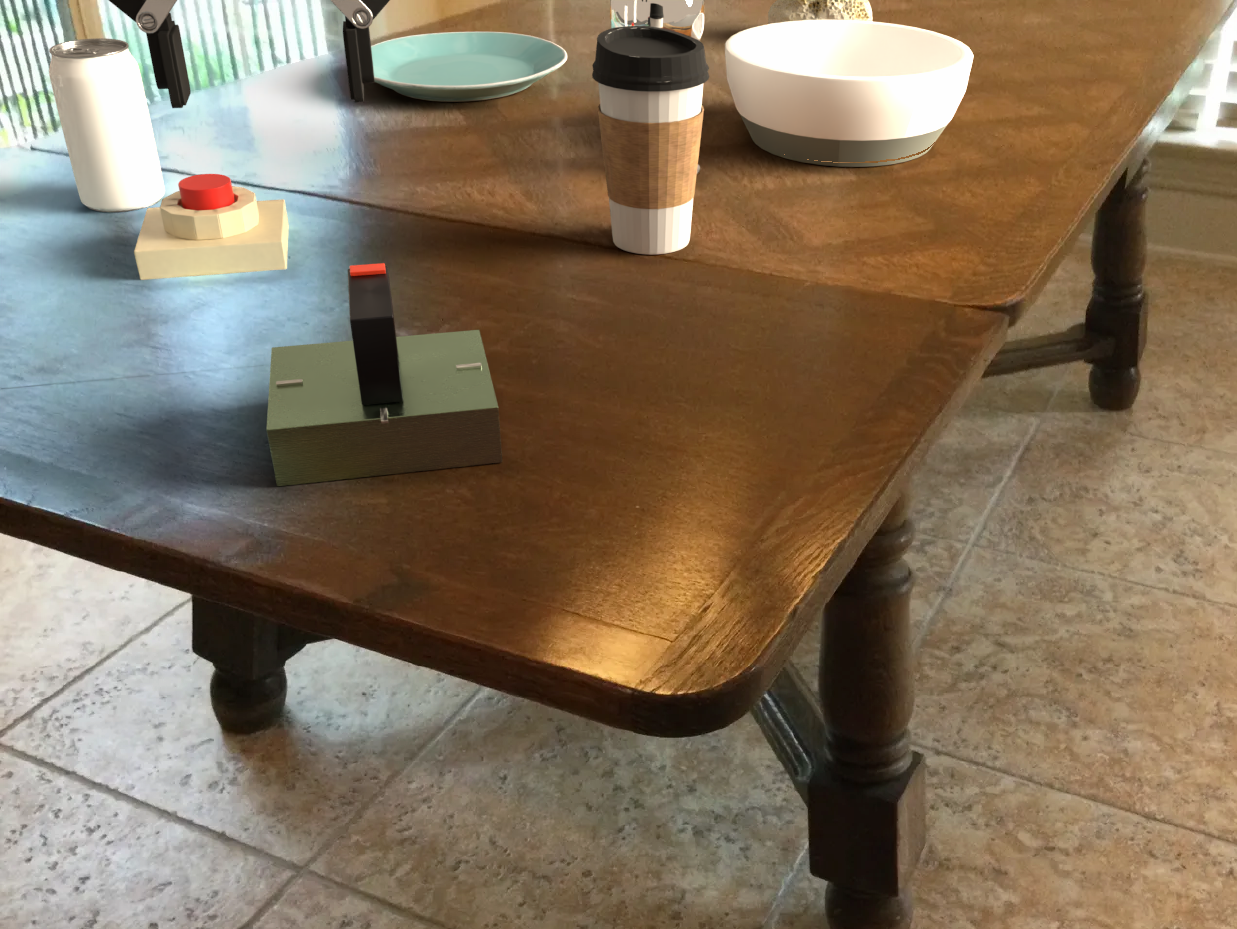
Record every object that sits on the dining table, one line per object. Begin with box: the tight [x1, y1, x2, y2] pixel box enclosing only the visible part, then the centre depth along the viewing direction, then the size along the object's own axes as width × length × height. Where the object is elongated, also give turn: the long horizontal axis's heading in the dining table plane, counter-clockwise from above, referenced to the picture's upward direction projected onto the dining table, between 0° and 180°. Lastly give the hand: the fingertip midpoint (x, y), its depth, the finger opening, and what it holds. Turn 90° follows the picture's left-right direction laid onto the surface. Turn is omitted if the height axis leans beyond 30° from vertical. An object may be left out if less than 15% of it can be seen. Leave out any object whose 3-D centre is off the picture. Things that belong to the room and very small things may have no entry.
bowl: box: [724, 20, 974, 168], centre depth 120 cm, size 22×22×8 cm
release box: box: [133, 185, 290, 281], centre depth 96 cm, size 10×9×4 cm
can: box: [48, 37, 166, 213], centre depth 102 cm, size 6×6×12 cm
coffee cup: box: [591, 26, 710, 256], centre depth 96 cm, size 8×8×15 cm
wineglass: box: [609, 0, 706, 178], centre depth 108 cm, size 8×8×20 cm
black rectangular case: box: [347, 262, 403, 405], centre depth 71 cm, size 7×2×5 cm, turn 14°
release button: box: [177, 173, 235, 211], centre depth 94 cm, size 4×4×2 cm
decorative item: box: [767, 0, 873, 24], centre depth 154 cm, size 12×9×10 cm
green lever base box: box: [265, 329, 503, 487], centre depth 74 cm, size 12×11×4 cm
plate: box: [371, 31, 568, 103], centre depth 136 cm, size 22×22×3 cm
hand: (270, 98), depth 74 cm, fingers open, 9 cm apart
